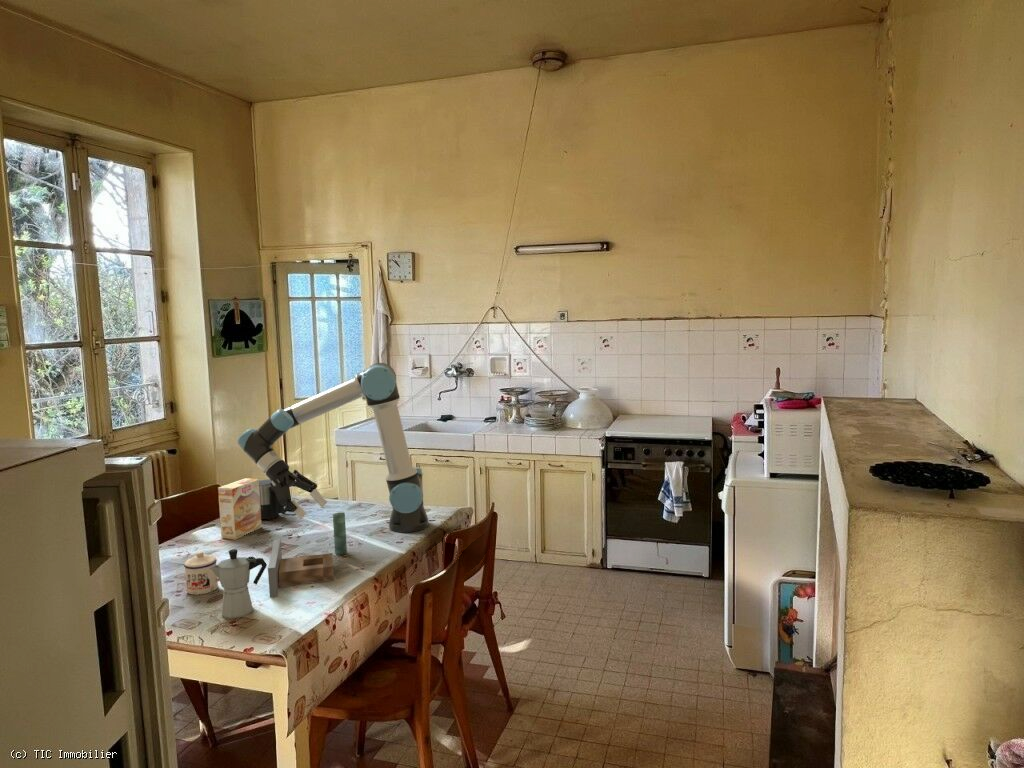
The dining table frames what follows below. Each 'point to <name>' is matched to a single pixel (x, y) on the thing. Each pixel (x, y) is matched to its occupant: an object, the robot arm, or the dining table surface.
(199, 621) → the dining table surface
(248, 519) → the coffeecake box
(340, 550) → the dowel
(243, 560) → the coffee maker
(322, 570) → the socket block
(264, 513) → the milk frother
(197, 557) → the teacup with lid
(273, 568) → the wall
